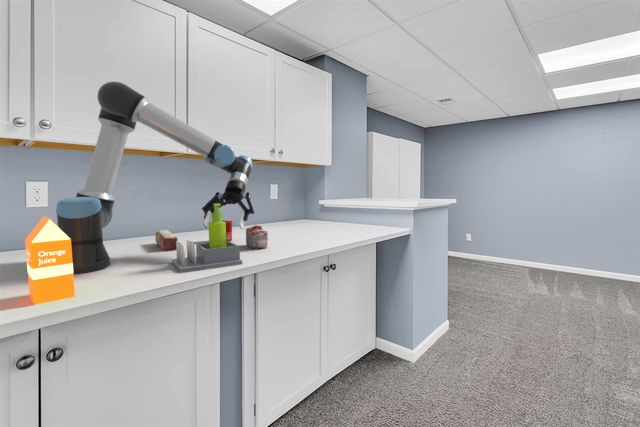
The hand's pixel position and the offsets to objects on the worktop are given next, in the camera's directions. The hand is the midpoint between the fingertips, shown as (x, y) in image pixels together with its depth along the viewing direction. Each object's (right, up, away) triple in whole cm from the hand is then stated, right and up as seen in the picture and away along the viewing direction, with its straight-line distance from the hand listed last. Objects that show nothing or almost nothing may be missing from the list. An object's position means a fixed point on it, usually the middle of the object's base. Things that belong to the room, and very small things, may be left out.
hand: (222, 226), depth 118 cm
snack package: (-33, -10, +25) cm, 43 cm away
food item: (+7, -10, +25) cm, 29 cm away
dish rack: (-4, -13, -5) cm, 14 cm away
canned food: (-12, -9, +40) cm, 42 cm away
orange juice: (-31, -16, -38) cm, 52 cm away
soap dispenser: (-1, -12, -2) cm, 12 cm away
